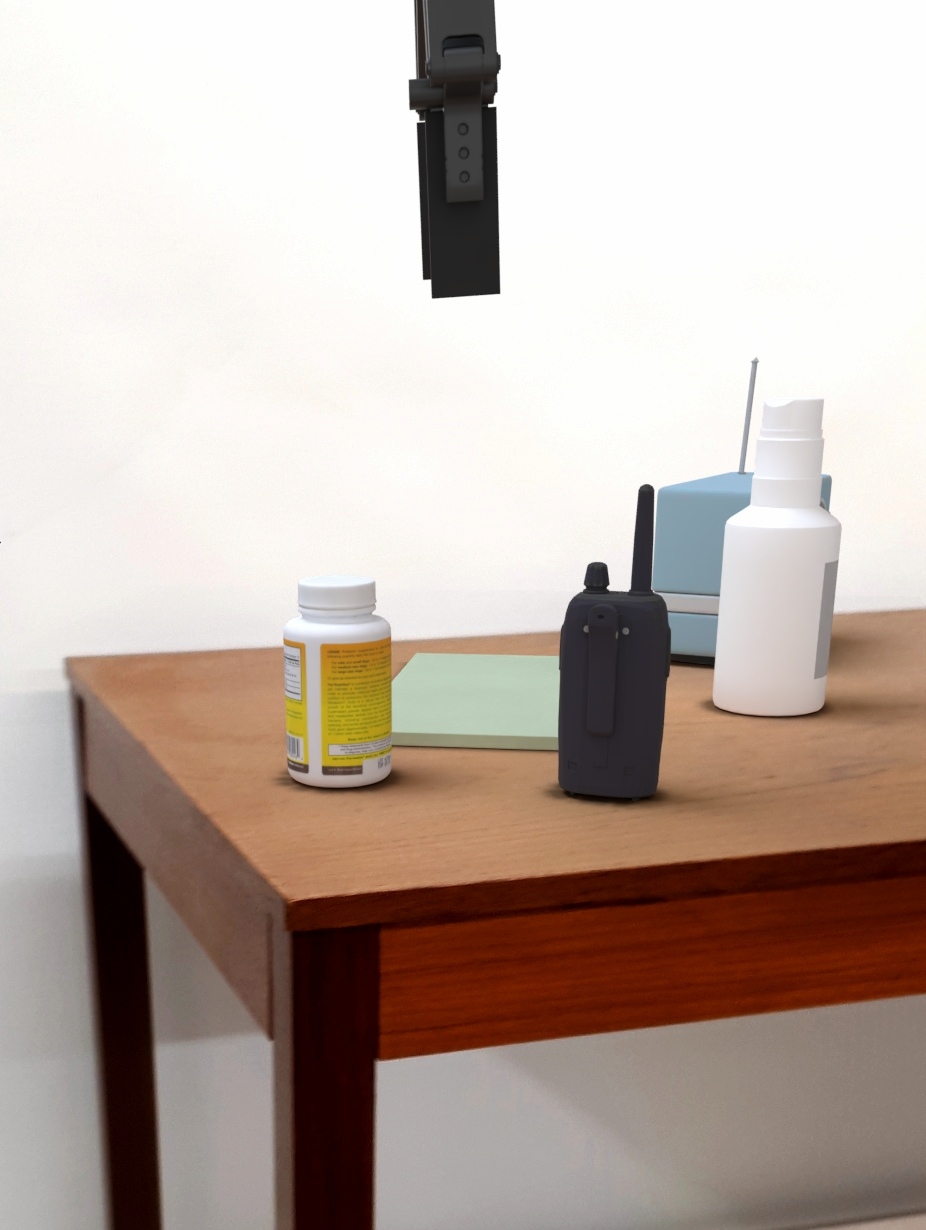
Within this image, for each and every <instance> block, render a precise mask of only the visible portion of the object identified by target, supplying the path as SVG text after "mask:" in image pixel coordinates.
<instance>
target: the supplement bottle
mask: <svg viewBox="0 0 926 1230" xmlns="http://www.w3.org/2000/svg"><path fill="white" fill-rule="evenodd" d="M376 592H377V591H376V580H375V579H374V578H372V577H369V576H363V575H354V574H353V575H352V574H351V575H349V574H347V575H346V574H333V575H332V574H331V575H330V574H329V575H327V574H326V575H317V576H315V575H314V576H308V577H304V578H302V579H299V580H298V583H297V601H296V603H297V605H298V606H297V612H298V613H300V614H301V615H299V616H296V617H293V618H291V619H290V620H288V621H287V622H286V624H285V625H284V627H283V638H282V639H283V667H284V700H285V706H284V707H285V727H286V729H285V730H286V731H285V733H286V735H285V736H286V762H287V771H288V773H289V775H290V777H291V778H293V779H294V780H295V781H296V782H299V783H301V784H304V785H307V786H311V787H317V788H318V787H319V788H332V789H333V788H334V789H338V788H339V789H340V788H341V789H342V788H355V787H357V788H358V787H363V786H368V785H372V784H375V783H378V782H380V781H383V780H384V779H386V778H387V777H388V776H389V774H390V773H391V771H392V767H393V766H392V765H393V745H392V681H393V680H392V678H393V677H392V676H393V675H392V628H391V624H390V622H389V620H387V619H386V618H385V617H383V616H381V615H378V614H373V612H374V611H376V609H377V604H376V603H377V601H378V600H377V595H376V594H377V593H376Z"/></svg>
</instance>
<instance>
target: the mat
mask: <svg viewBox="0 0 926 1230" xmlns="http://www.w3.org/2000/svg"><path fill="white" fill-rule="evenodd" d="M559 687H560V670H559V655H535V654H534V655H530V654H529V655H528V654H527V655H525V654H488V653H487V654H484V653H483V654H482V653H442V652H441V653H439V652H438V653H436V652H435V653H434V652H428V653H426V652H416V653H415V654H414V655H413V656H412V658H410V660H409V661H408V662H407V663H406V664H405V666H403V668H402V669H401V671H400V672H399V673H398V674H397V675H395V677H394V678H393V680H392V746H403V747H405V746H407V747H434V748H435V747H436V748H467V749H468V748H469V749H497V750H498V749H499V750H502V749H503V750H528V751H530V750H532V751H534V750H535V751H558V714H559Z"/></svg>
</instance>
